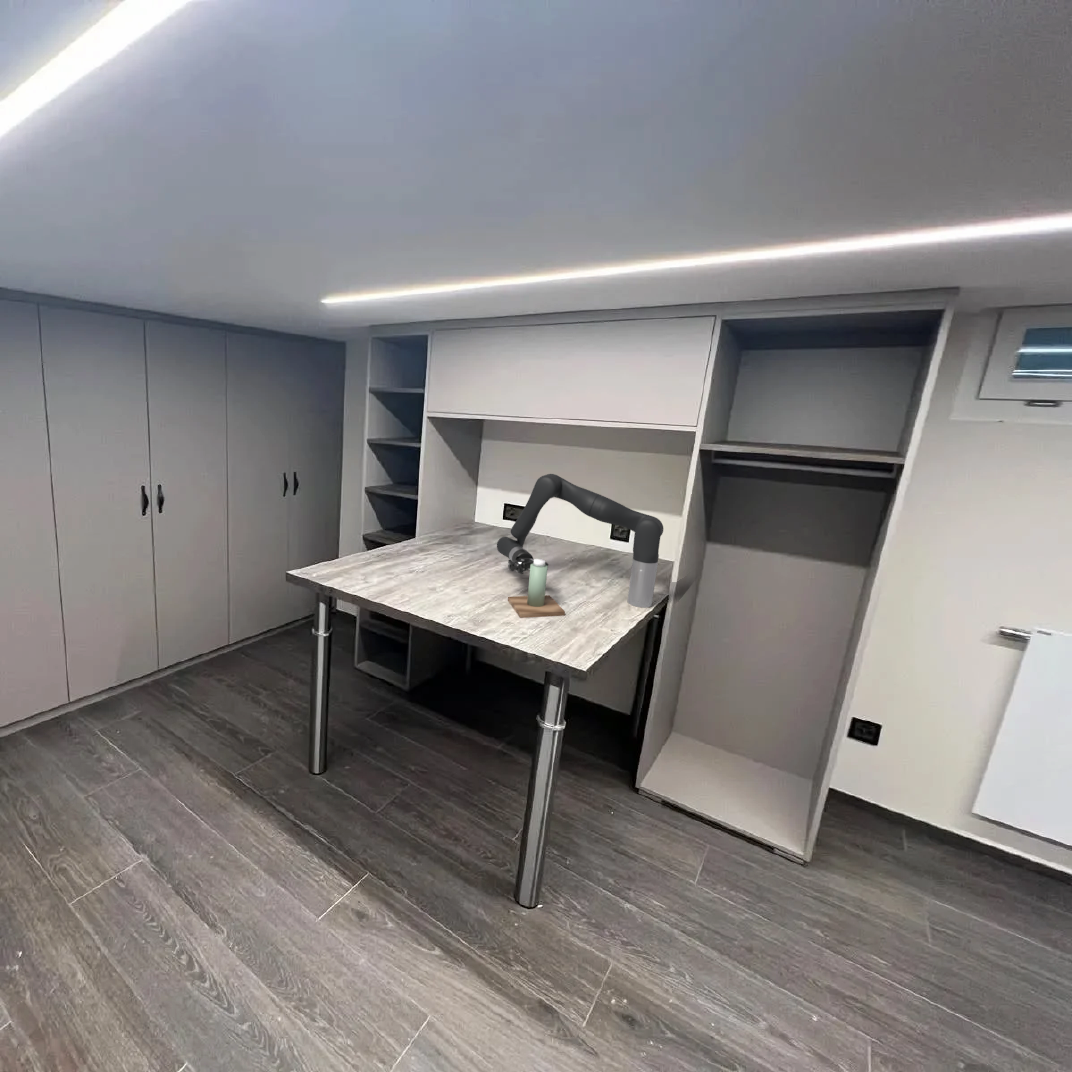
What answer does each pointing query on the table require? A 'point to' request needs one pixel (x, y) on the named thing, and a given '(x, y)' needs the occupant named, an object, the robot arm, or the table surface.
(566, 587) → the table surface
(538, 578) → the bottle
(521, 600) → the brown wooden flat square
